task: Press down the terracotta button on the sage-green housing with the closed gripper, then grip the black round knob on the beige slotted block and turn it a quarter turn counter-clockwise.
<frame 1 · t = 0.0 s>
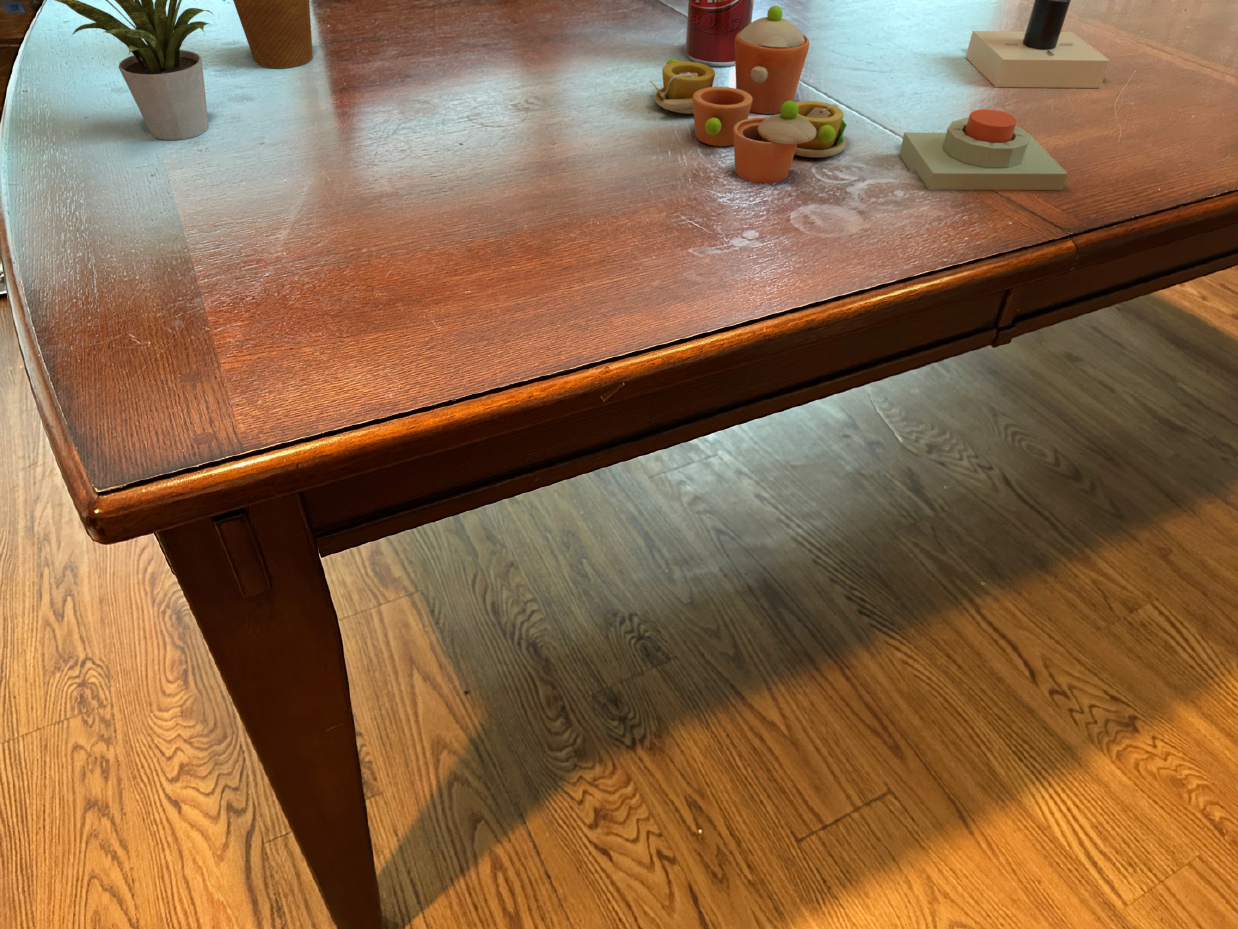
button housing: (976, 175, 85), on the table
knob: (1046, 19, 104), point 6 cm above the table, hinge at 0.0°
house plant: (188, 125, 90), on the table
beige slotted block: (1030, 72, 107), on the table
button: (990, 127, 82), point 4 cm above the table, slide at 0.1 cm
toy tea set: (755, 137, 91), on the table
disposable coffee cup: (284, 60, 104), on the table
soda can: (715, 59, 108), on the table
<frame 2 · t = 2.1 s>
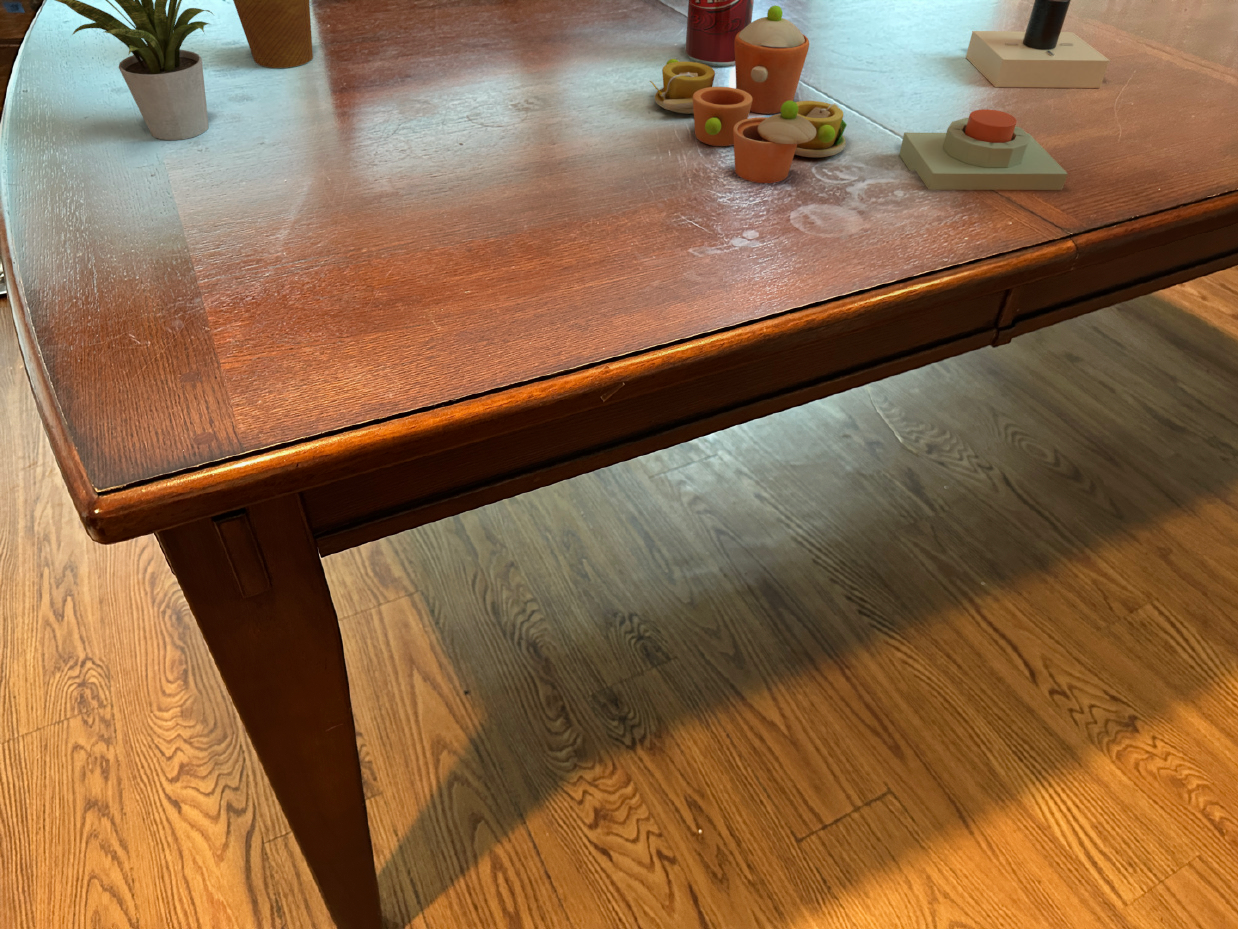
nothing on the table moved.
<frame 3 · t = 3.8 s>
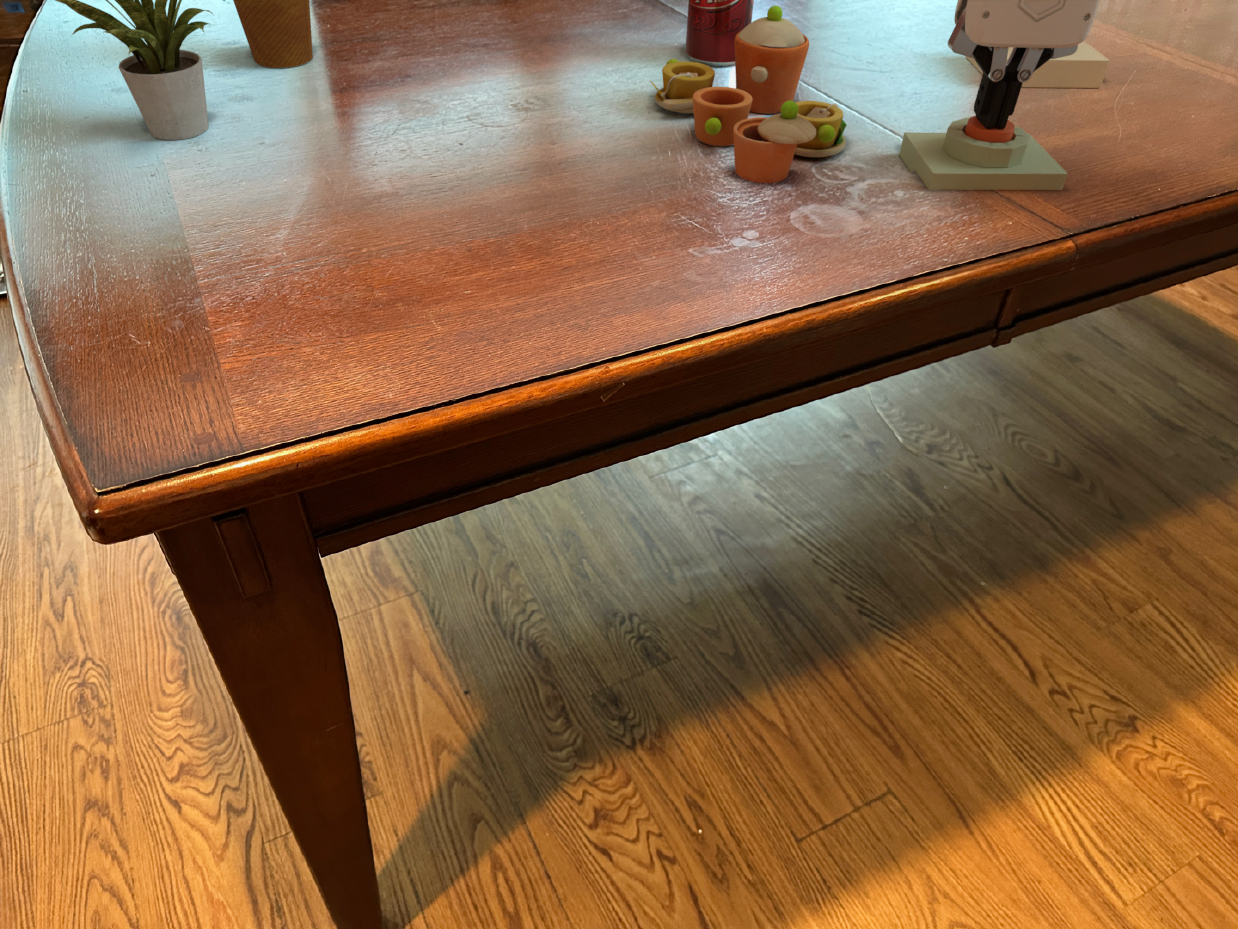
hand: (989, 122, 82), 5 cm above the table, tool pointing down, fingers closed
button: (988, 132, 83), point 4 cm above the table, slide at -0.4 cm, touching gripper
everything else where it was.
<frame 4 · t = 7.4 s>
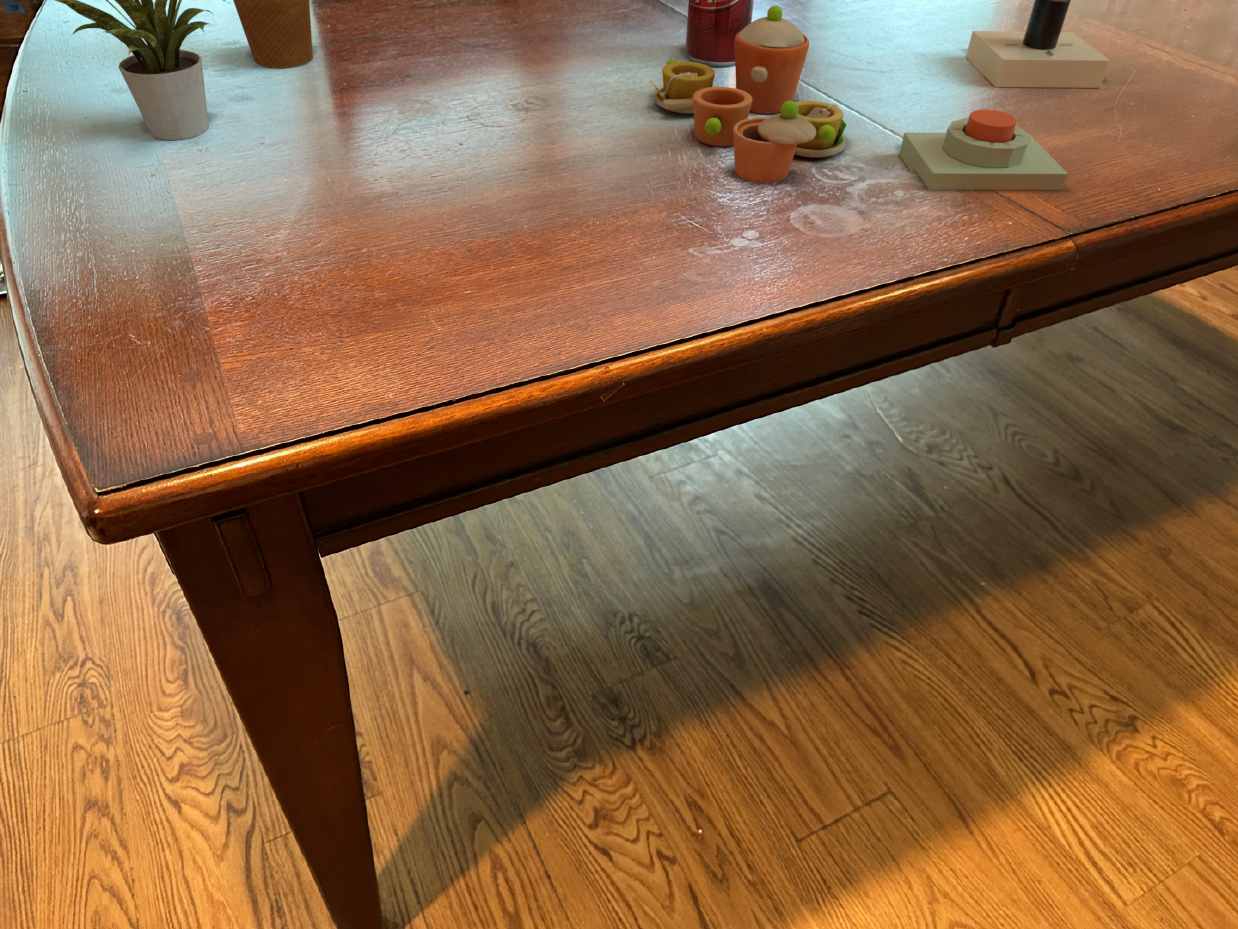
button: (990, 127, 82), point 4 cm above the table, slide at 0.1 cm
everything else where it was.
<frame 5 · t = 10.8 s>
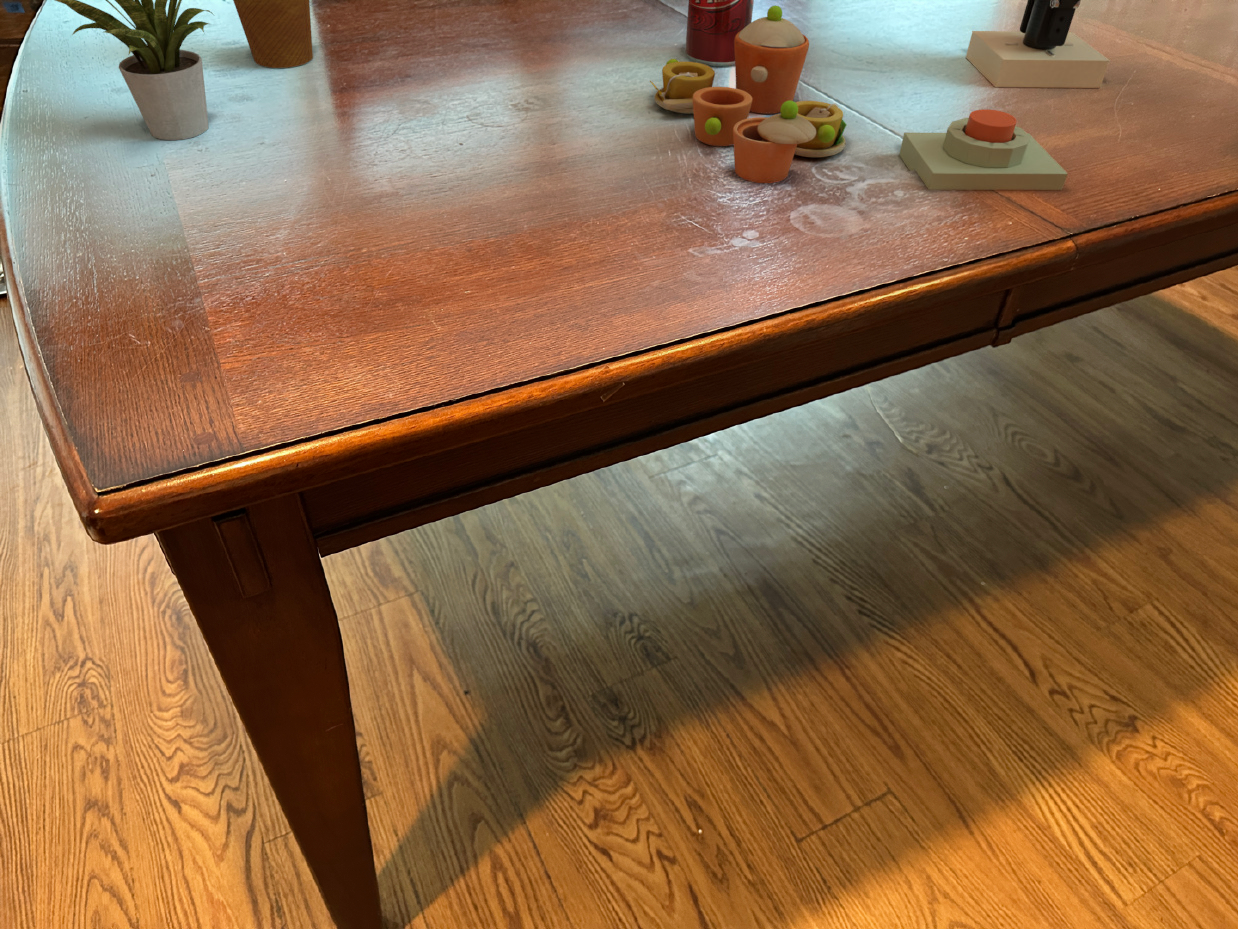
hand: (1041, 36, 105), 4 cm above the table, tool pointing down, fingers closed on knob, 3 cm apart
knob: (1046, 19, 104), point 6 cm above the table, hinge at -0.2°, touching gripper
everything else where it was.
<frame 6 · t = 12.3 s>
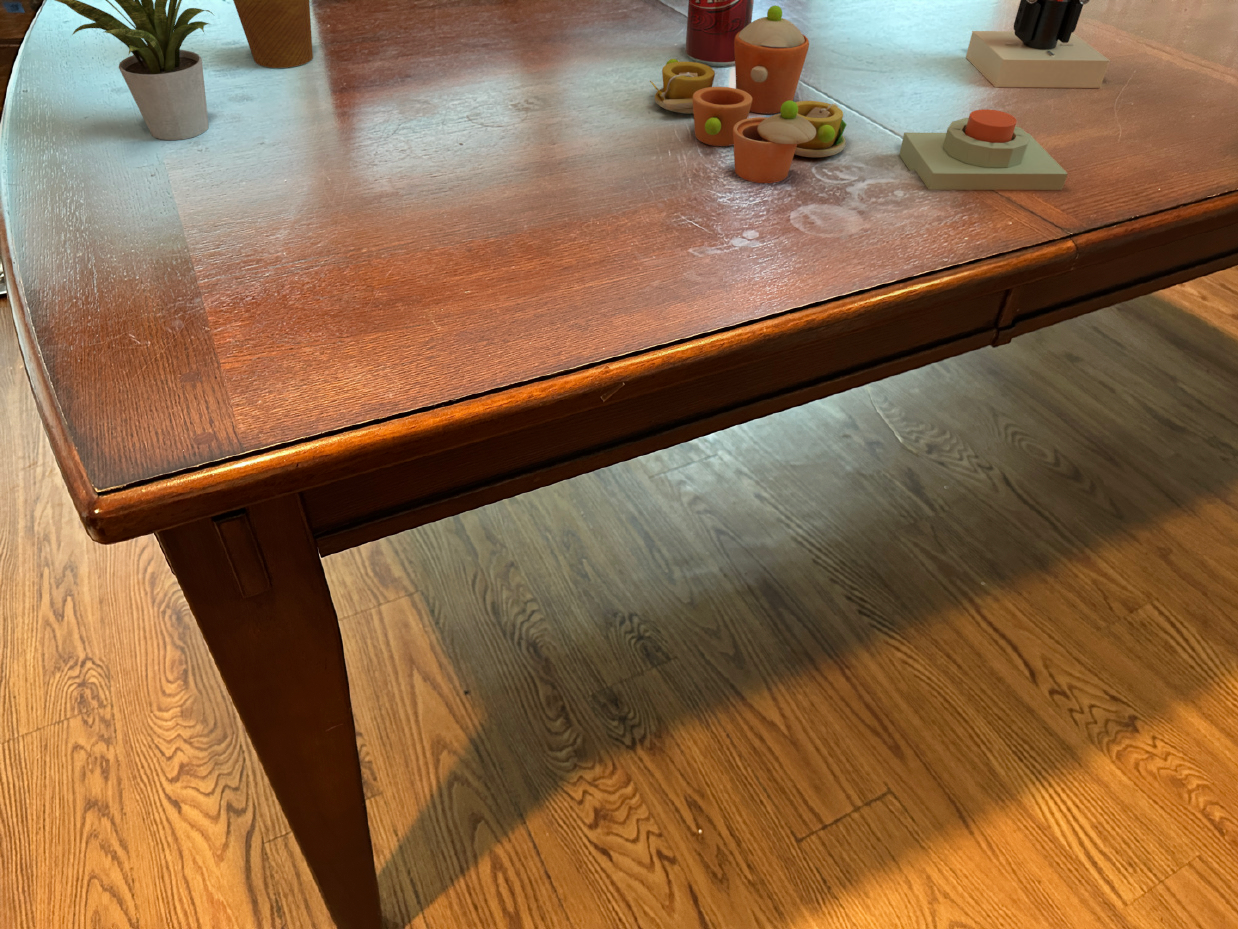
hand: (1041, 36, 105), 4 cm above the table, tool pointing down, fingers closed on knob, 3 cm apart
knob: (1046, 19, 104), point 6 cm above the table, hinge at 90.1°, touching gripper
everything else where it was.
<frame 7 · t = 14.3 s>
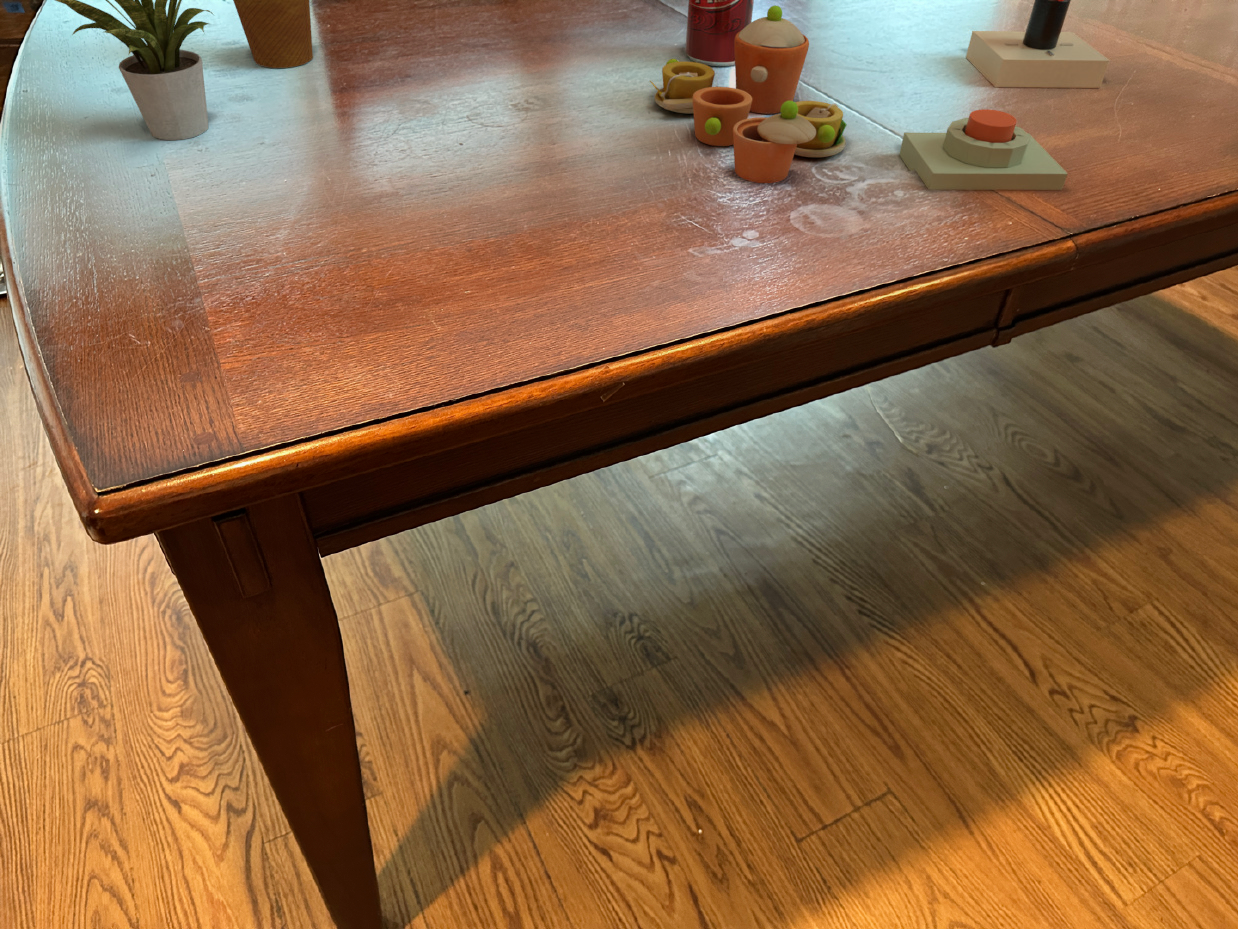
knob: (1046, 19, 104), point 6 cm above the table, hinge at 92.4°
everything else where it was.
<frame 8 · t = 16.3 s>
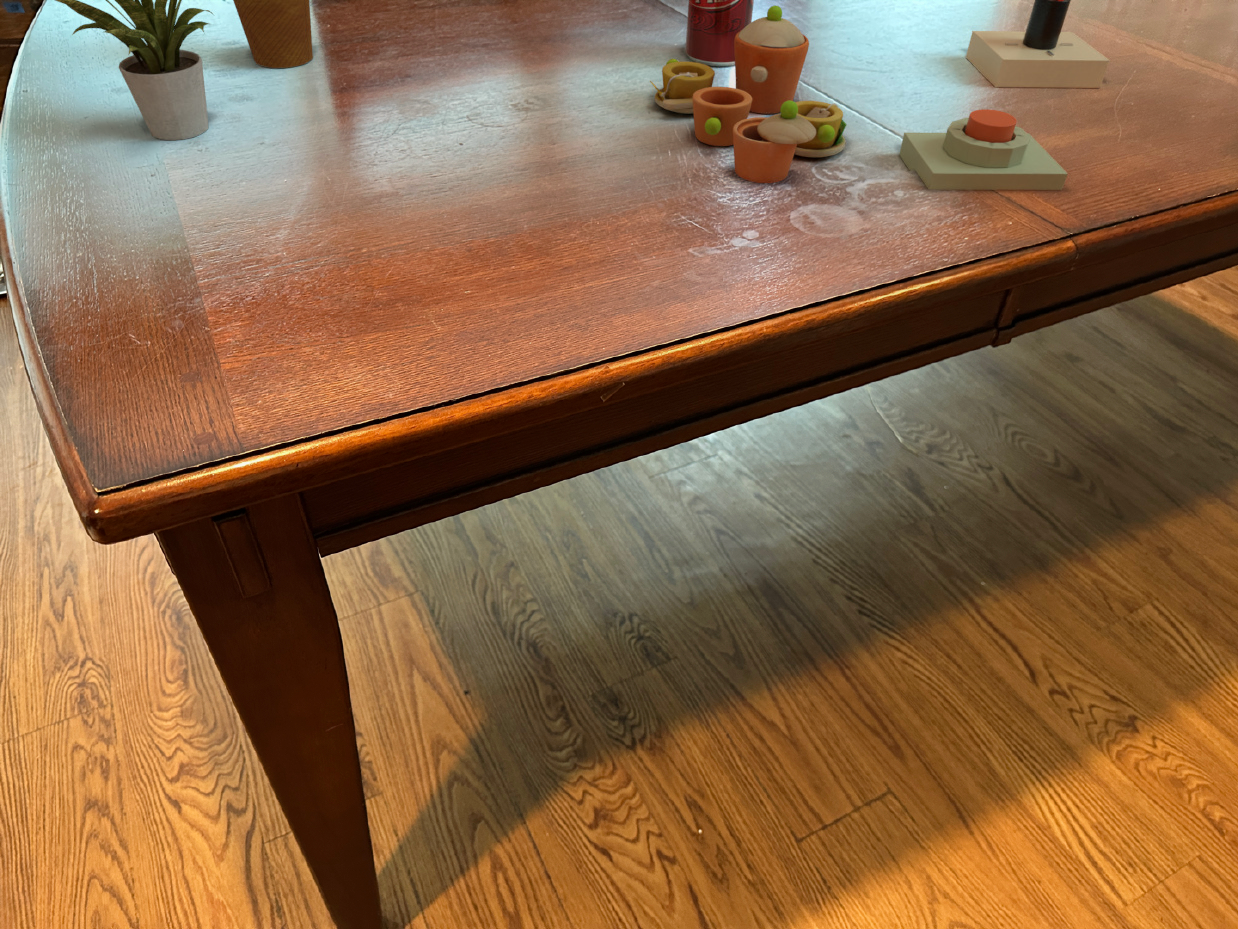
nothing on the table moved.
at the end: button pushed in 1.1 cm at the most during the clip, back to where it started at the end; button slide at 0.1 cm; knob at +92° (first picture: +0°) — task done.
